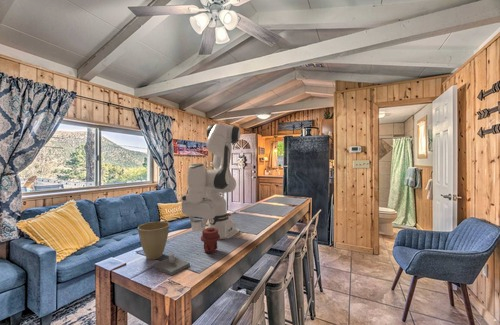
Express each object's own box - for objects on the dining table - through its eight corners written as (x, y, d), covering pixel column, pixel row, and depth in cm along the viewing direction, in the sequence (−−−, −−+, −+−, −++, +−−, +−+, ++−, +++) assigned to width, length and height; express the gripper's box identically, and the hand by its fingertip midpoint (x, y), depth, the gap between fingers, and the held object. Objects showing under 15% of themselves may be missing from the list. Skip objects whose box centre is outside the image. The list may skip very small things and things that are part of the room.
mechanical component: (199, 255, 114) (203, 247, 124) (218, 255, 114) (221, 247, 124) (198, 231, 114) (203, 225, 124) (217, 231, 113) (221, 225, 123)
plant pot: (150, 265, 103) (149, 232, 103) (132, 258, 112) (131, 227, 111) (176, 254, 116) (175, 223, 116) (158, 248, 124) (158, 219, 124)
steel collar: (199, 226, 112) (198, 218, 112) (207, 228, 109) (207, 220, 109) (189, 229, 107) (189, 221, 107) (198, 232, 104) (197, 223, 104)
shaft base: (172, 259, 110) (172, 248, 110) (189, 265, 103) (189, 254, 103) (153, 267, 102) (153, 255, 102) (171, 275, 95) (170, 262, 94)
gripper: (217, 198, 104) (218, 227, 105) (188, 194, 116) (189, 220, 116) (207, 200, 99) (208, 231, 99) (178, 196, 111) (179, 223, 111)
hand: (198, 225), depth 108 cm, fingers closed on steel collar, 6 cm apart
